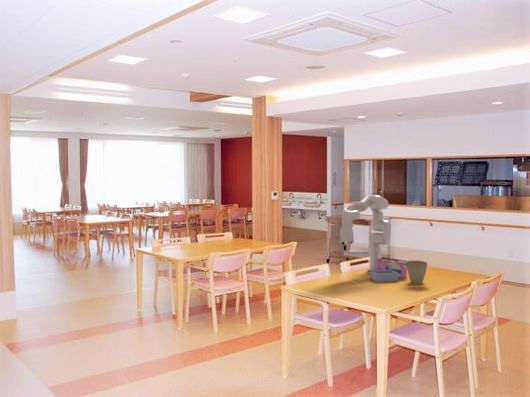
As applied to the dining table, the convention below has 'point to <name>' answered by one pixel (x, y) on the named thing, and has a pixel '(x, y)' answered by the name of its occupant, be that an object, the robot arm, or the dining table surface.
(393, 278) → the tub
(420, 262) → the plant pot
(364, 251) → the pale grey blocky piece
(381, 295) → the dining table surface
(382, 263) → the gum box
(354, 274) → the dining table surface
